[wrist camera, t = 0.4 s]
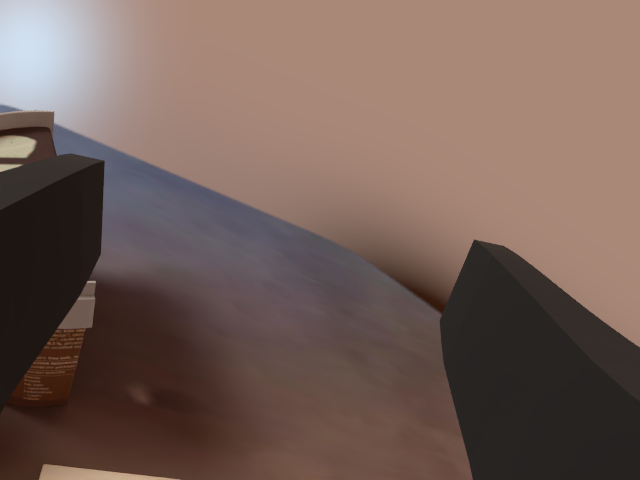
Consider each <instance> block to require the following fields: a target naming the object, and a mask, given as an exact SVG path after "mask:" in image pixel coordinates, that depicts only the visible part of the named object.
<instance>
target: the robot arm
mask: <svg viewBox="0 0 640 480" xmlns="http://www.w3.org/2000/svg"><path fill="white" fill-rule="evenodd" d="M103 186H104V161H103V160H98V159H94V158H89V157H84V156H80V155H75V154H65V155H59V156H55V157H51V158H47V159H43V160H39V161H36V162H32V163H29V164H26V165H22V166H19V167H15V168H12V169H8V170H5V171H2V172H0V413H1V411H2V410H3V408H4V406H5V404H6V403H7V401H8V400H9V398H10V397H11V395H12V393H13V392H14V390H15V389H16V387H17V385H18V384H19V383H20V381H21V380H22V378H23V377H24V375H25V374H26V373H27V371H28V370H29V368H30V367H31V365H32V364H33V363H34V361H35V360H36V358H37V357H38V355H39V354H40V353H41V351H42V350H43V348H44V347H45V345H46V344H47V343H48V341H49V340H50V338H51V337H52V336H53V334H54V333H55V331H56V330H57V328H58V327H59V326H60V324H61V323H62V321H63V320H64V318H65V317H66V315H67V314H68V313H69V311H70V310H71V308H72V307H73V305H74V304H75V302H76V301H77V299H78V298H79V296H80V295H81V293H82V291H83V289H84V287H85V285H86V283H87V281H88V279H89V277H90V275H91V273H92V271H93V269H94V267H95V265H96V263H97V260H98V258H99V256H100V254H101V236H102V211H103ZM440 329H441V342H442V351H443V360H444V365H445V370H446V374H447V378H448V382H449V386H450V390H451V394H452V398H453V402H454V406H455V409H456V413H457V417H458V421H459V425H460V428H461V432H462V436H463V440H464V444H465V447H466V451H467V455H468V459H469V463H470V468H471V472H472V477H473V480H640V347H638V346H637V345H635V344H634V343H632V342H631V341H629V340H628V339H627V338H625V337H624V336H622V335H621V334H620V333H618V332H617V331H616V330H614V329H613V328H611V327H610V326H609V325H607V324H606V323H604V322H603V321H602V320H600V319H599V318H598V317H596V316H595V315H594V314H593V313H591V312H589V311H588V310H587V309H586V308H585V307H583V306H582V305H581V304H580V303H578V302H577V301H576V300H574V299H573V298H572V297H571V296H570V295H568V294H567V293H566V292H564V291H563V290H562V289H561V288H559V287H558V286H557V285H556V284H554V283H553V282H552V281H551V280H550V279H548V278H547V277H546V276H545V275H543V274H542V273H541V272H540V271H538V270H537V269H536V268H534V267H533V266H532V265H531V264H529V263H528V262H527V261H525V260H524V259H523V258H521V257H520V256H519V255H517V254H516V253H514V252H513V251H511V250H509V249H508V248H506V247H504V246H501V245H496V244H491V243H487V242H483V241H478V240H474V241H473V243H472V246H471V248H470V251H469V253H468V255H467V258H466V260H465V262H464V265H463V267H462V269H461V272H460V274H459V276H458V279H457V281H456V283H455V286H454V288H453V290H452V293H451V295H450V298H449V300H448V302H447V305H446V307H445V309H444V312H443V314H442V316H441V319H440Z"/></svg>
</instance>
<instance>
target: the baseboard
mask: <svg viewBox="0 0 640 480" xmlns="http://www.w3.org/2000/svg"><path fill="white" fill-rule="evenodd" d="M39 480H179V479H170V478H161V477H152V476H144V475H135V474H126V473H118V472H109V471H100V470H91V469H83V468H74V467H65V466H56V465H48V464H44V465H43V468H42V471H41V474H40V478H39Z"/></svg>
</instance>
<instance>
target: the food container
mask: <svg viewBox="0 0 640 480" xmlns="http://www.w3.org/2000/svg"><path fill="white" fill-rule="evenodd" d="M53 123H54V111H35V110H34V111H14V112H7V113H0V172H2V171H5V170H8V169H12V168H15V167H19V166H22V165H26V164H29V163H32V162H36V161H39V160H43V159H47V158H51V157H55V156H57V155H56V151H55V147H54V143H53V138H52V137H53ZM95 287H96V281H87V283H86V285H85V287H84V289H83V291H82V293H81V295H80V296H79V298H78V299H77V301H76V302H75V304H74V305H73V307H72V308H71V310H70V311H69V313H68V314H67V315H66V317H65V318H64V320H63V321H62V323H61V324H60V326H59V327H58V328H57V330H56V331H55V333H54V334H53V336H52V337H51V338H50V340H49V341H48V343H47V344H46V345H45V347H44V348H43V350H42V351H41V353H40V354H39V355H38V357H37V358H36V360H35V361H34V363H33V364H32V365H31V367H30V368H29V370H28V371H27V373H26V374H25V375H24V377H23V378H22V380H21V381H20V383H19V384H18V385H17V387H16V389H15V390H14V392H13V393H12V395H11V397H10V398H9V400H8V401H7V403H8V404H12V405H19V406H27V407H51V406H59V405H67V403H68V399H69V394H70V390H71V386H72V382H73V378H74V374H75V370H76V366H77V362H78V358H79V354H80V350H81V346H82V342H83V337H84V333H85V329H86V328H92V324H93V315H94V306H95V296H94V293H95Z"/></svg>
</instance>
